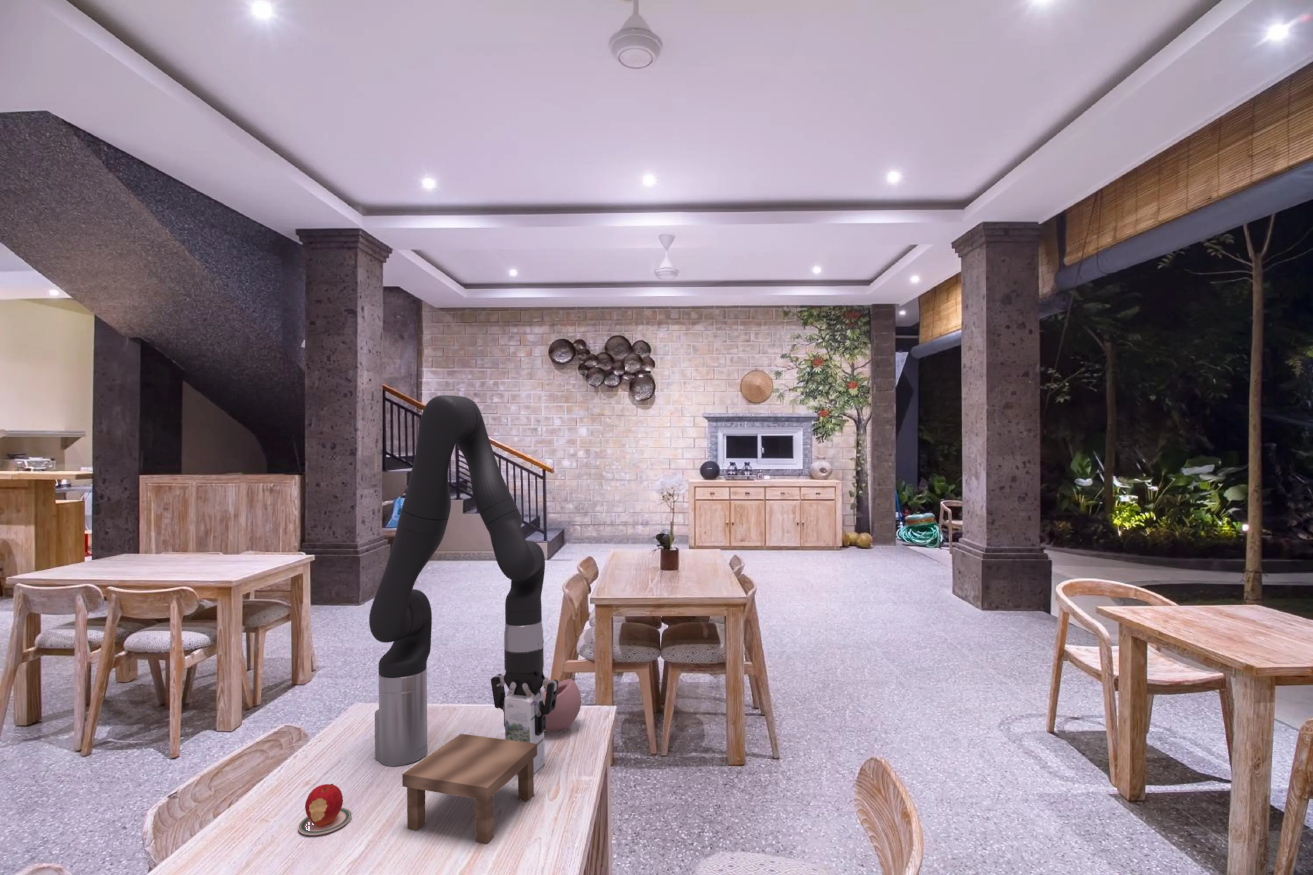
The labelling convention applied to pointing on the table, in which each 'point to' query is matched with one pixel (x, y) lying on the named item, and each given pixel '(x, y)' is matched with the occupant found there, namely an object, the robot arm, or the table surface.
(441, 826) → the table surface
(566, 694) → the mortar and pestle
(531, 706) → the syrup box
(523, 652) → the robot arm
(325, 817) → the apple
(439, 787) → the walnut stool
